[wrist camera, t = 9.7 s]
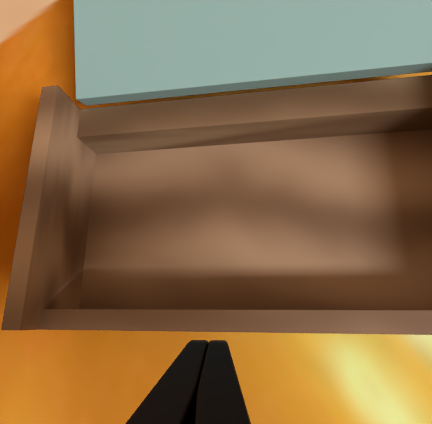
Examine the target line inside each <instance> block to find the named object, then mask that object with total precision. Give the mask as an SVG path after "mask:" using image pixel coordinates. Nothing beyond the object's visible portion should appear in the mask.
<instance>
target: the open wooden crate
mask: <svg viewBox="0 0 432 424" xmlns="http://www.w3.org/2000/svg"><path fill="white" fill-rule="evenodd" d="M37 329H49V330H122V331H195V332H269V333H342V334H415V335H432V75H427V76H416V77H406V78H396V79H386V80H375V81H365V82H355V83H345V84H334V85H324V86H314V87H303V88H293V89H283V90H273V91H262V92H252V93H242V94H232V95H221V96H211V97H201V98H191V99H180V100H170V101H160V102H149V103H139V104H129V105H119V106H108V107H98V108H88V109H80V108H79V107H78V106H77V105H76V104H75V103H74V102H73V101H72V100H71V99H70V98H69V97H68V96H67V95H66V93H65V92H64V91H63V90H62V89H61V88H60V87H59V86H58V85H57V86H48V87H42V91H41V97H40V103H39V109H38V115H37V121H36V127H35V133H34V139H33V145H32V150H31V156H30V162H29V168H28V174H27V180H26V186H25V192H24V198H23V204H22V210H21V216H20V222H19V228H18V233H17V239H16V245H15V251H14V257H13V263H12V269H11V275H10V281H9V287H8V293H7V299H6V305H5V310H4V316H3V322H2V328H1V330H37Z"/></svg>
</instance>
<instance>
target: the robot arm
mask: <svg viewBox="0 0 432 424" xmlns="http://www.w3.org/2000/svg"><path fill="white" fill-rule="evenodd" d="M126 424H251V422H250V419H249V415H248V412H247V408H246V405H245V401H244V398H243V395H242V391H241V388H240V384H239V381H238V377H237V374H236V370H235V367H234V364H233V360H232V357H231V353H230V350H229V346H228V343H227V342H226V341H224V340H211V341H209V343H208V341H206V340H192V341H190V342H189V343H188V344H187V345H186V346H185V348H184V349H183V350H182V352H181V353H180V354H179V355H178V357H177V358H176V359H175V361H174V362H173V363H172V365H171V366H170V367H169V368H168V370H167V371H166V372H165V374H164V375H163V376H162V377H161V379H160V380H159V381H158V383H157V384H156V385H155V386H154V388H153V389H152V390H151V392H150V393H149V394H148V395H147V397H146V398H145V399H144V401H143V402H142V403H141V405H140V406H139V407H138V408H137V410H136V411H135V412H134V414H133V415H132V416H131V417H130V419H129V420H128V421H127V423H126Z"/></svg>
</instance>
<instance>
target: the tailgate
mask: <svg viewBox="0 0 432 424" xmlns="http://www.w3.org/2000/svg"><path fill="white" fill-rule="evenodd" d="M74 38H75V81H76V100H78V101H80V102H81V103H83V104H84V105H86V106H87V105H97V104H107V103H117V102H127V101H137V100H148V99H158V98H168V97H178V96H188V95H198V94H208V93H218V92H228V91H239V90H249V89H259V88H269V87H279V86H289V85H299V84H309V83H319V82H330V81H340V80H350V79H360V78H370V77H380V76H390V75H400V74H410V73H420V72H431V71H432V0H74Z"/></svg>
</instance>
